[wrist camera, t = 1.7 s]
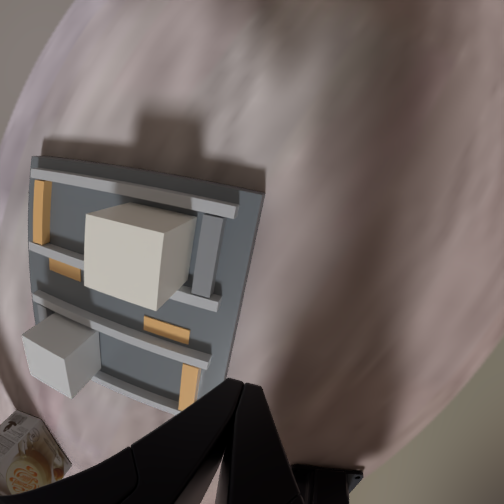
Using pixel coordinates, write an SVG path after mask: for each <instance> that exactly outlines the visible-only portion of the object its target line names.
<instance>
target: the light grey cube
mask: <svg viewBox="0 0 504 504" xmlns="http://www.w3.org/2000/svg"><path fill="white" fill-rule="evenodd" d="M22 340H23V345H24V349H25V354H26V358H27V362H28V366H29V370H30V374H31V375H32V376H33V377H35V378H37V379H38V380H40V381H41V382H43V383H45V384H46V385H48V386H50V387H51V388H53V389H55V390H56V391H58V392H60V393H62V394H63V395H65V396H67V397H69V398H70V399H73V398H74V397H75V396H76V394H77V393H78V392H79V391H80V390H81V389H82V388H83V387H84V386H85V385H86V384H87V383H88V382H89V381H90V380H91V379H92V378H93V377H94V375H95V374H96V373H97V372H98V371H99V370H100V369H101V358H100V344H99V331H97V330H95V329H92V328H90V327H88V326H85V325H83V324H81V323H79V322H76V321H74V320H72V319H70V318H68V317H65V316H63V315H61V314H59V313H57V312H55V313H53V314H52V315H50V316H49V317H47V318H46V319H44V320H43V321H41V322H40V323H38V324H37V325H35V326H34V327H32V328H31V329H29V330H28V331H26V332H25V333H23V334H22Z"/></svg>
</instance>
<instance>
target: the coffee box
mask: <svg viewBox="0 0 504 504" xmlns="http://www.w3.org/2000/svg"><path fill="white" fill-rule="evenodd" d="M71 466H72V465H71V463H70V462H69V461H68V459H67V458H66V456H65V455H64V454H63V452H62V451H61V449H60V448H59V446H58V445H57V443H56V442H55V440H54V439H53V437H52V436H51V434H50V433H49V431H48V429H47V428H46V426H45V425H44V423H43V422H42V420H41V419H39V418H36V417H34V416H31V415H28V414H26V413H23V412H21V411H18V410H16V411H15V412H14V413H13V414H11V415H10V416H9V417H8V418H7V419H6V420H5V421H4V422H3V423H2V424H1V425H0V495H13V494H19V493H23V492H26V491H30V490H33V489H36V488H39V487H42V486H45V485H48V484H50V483H53V482H56V481H59V480H61V479H62V478H63V477H64V475H65V474H66V473H67V471H68V470H69V469H70V467H71Z"/></svg>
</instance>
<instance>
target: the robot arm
mask: <svg viewBox="0 0 504 504" xmlns="http://www.w3.org/2000/svg"><path fill="white" fill-rule="evenodd" d="M223 455H224V456H223ZM222 457H223V460H222ZM221 460H222V464H221V469H220V475H219V481H218V488H217V494H216V500H215V504H349V493H350V492H351V491H352V490H353V489H354V488H355V487H356V485H357V484H358V483H359V482H360V481H361V480H362V478H363V472H361V471H349V470H339V469H330V468H322V467H314V466H307V465H301V464H294V465H292V466H291V467H290V464H289V462H288V459H287V456H286V454H285V451H284V448H283V445H282V443H281V440H280V437H279V434H278V432H277V429H276V426H275V423H274V420H273V418H272V415H271V412H270V409H269V406H268V403H267V400H266V398H265V395H264V392H263V389H262V387H261V386H259V385H255V384H251V383H245V384H244V383H243V382H242V381H239V380H236V379H232V378H227V379H225V380H224V381H223V382H221V383H220V384H219V385H217V386H216V387H215V388H213V389H212V390H211V391H209V392H208V393H206V394H205V395H204V396H202V397H201V398H200V399H198V400H197V401H195V402H194V403H193V404H191V405H190V406H188V407H187V408H185V409H184V410H183V411H181V412H180V413H178V414H177V415H175V416H174V417H173V418H171V419H170V420H168V421H167V422H165V423H164V424H162V425H161V426H159V427H158V428H156V429H155V430H153V431H152V432H150V433H149V434H147V435H146V436H144V437H143V438H141V439H140V440H138V441H136V442H135V443H133V444H132V445H131V447H127V448H125V449H123V450H122V451H120V452H119V453H117V454H115V455H114V456H112V457H110V458H108V459H106V460H105V461H103V462H101V463H99V464H97V465H95V466H93V467H91V468H89V469H86V470H84V471H82V472H79V473H77V474H75V475H72V476H69V477H67V478H64V479H61V480H59V481H56V482H53V483H50V484H48V485H45V486H42V487H39V488H36V489H33V490H30V491H26V492H23V493H19V494H13V495H0V504H200V503H201V501H202V499H203V497H204V495H205V493H206V491H207V489H208V487H209V485H210V483H211V481H212V479H213V477H214V475H215V473H216V471H217V469H218V467H219V465H220V463H221Z"/></svg>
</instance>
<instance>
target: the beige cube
mask: <svg viewBox="0 0 504 504" xmlns="http://www.w3.org/2000/svg"><path fill="white" fill-rule="evenodd" d="M196 221H197V217H196V216H191V215H187V214H182V213H178V212H173V211H169V210H164V209H160V208H155V207H150V206H146V205H141V204H136V203H132V202H129V203H125V204H121V205H117V206H114V207H110V208H106V209H102V210H99V211H95V212H91V213H88V214H86V220H85V242H84V286H86V287H89V288H91V289H94V290H97V291H99V292H102V293H105V294H107V295H110V296H113V297H116V298H119V299H121V300H124V301H127V302H130V303H133V304H136V305H139V306H142V307H145V308H148V309H151V310H154V311H157V310H158V309H159V308H160V307H161V306H162V305H163V304H164V303H165V302H166V301H167V300H168V299H169V298H170V297H171V296H172V295H173V294H174V293H175V292H176V291H177V290H178V289H179V288H180V287H181V286H182V285H183V284H184V283H185V282H186V281H187V280H188V275H189V268H190V261H191V254H192V247H193V240H194V234H195V227H196Z"/></svg>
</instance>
